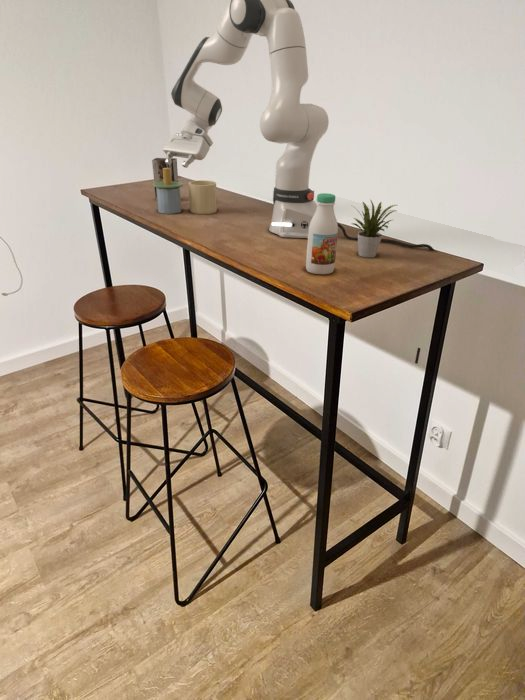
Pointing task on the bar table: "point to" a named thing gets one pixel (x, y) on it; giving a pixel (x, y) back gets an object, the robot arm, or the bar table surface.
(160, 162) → the coffee box
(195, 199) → the wooden container
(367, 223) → the house plant
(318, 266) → the milk bottle
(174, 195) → the cup
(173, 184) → the lid
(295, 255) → the bar table surface
